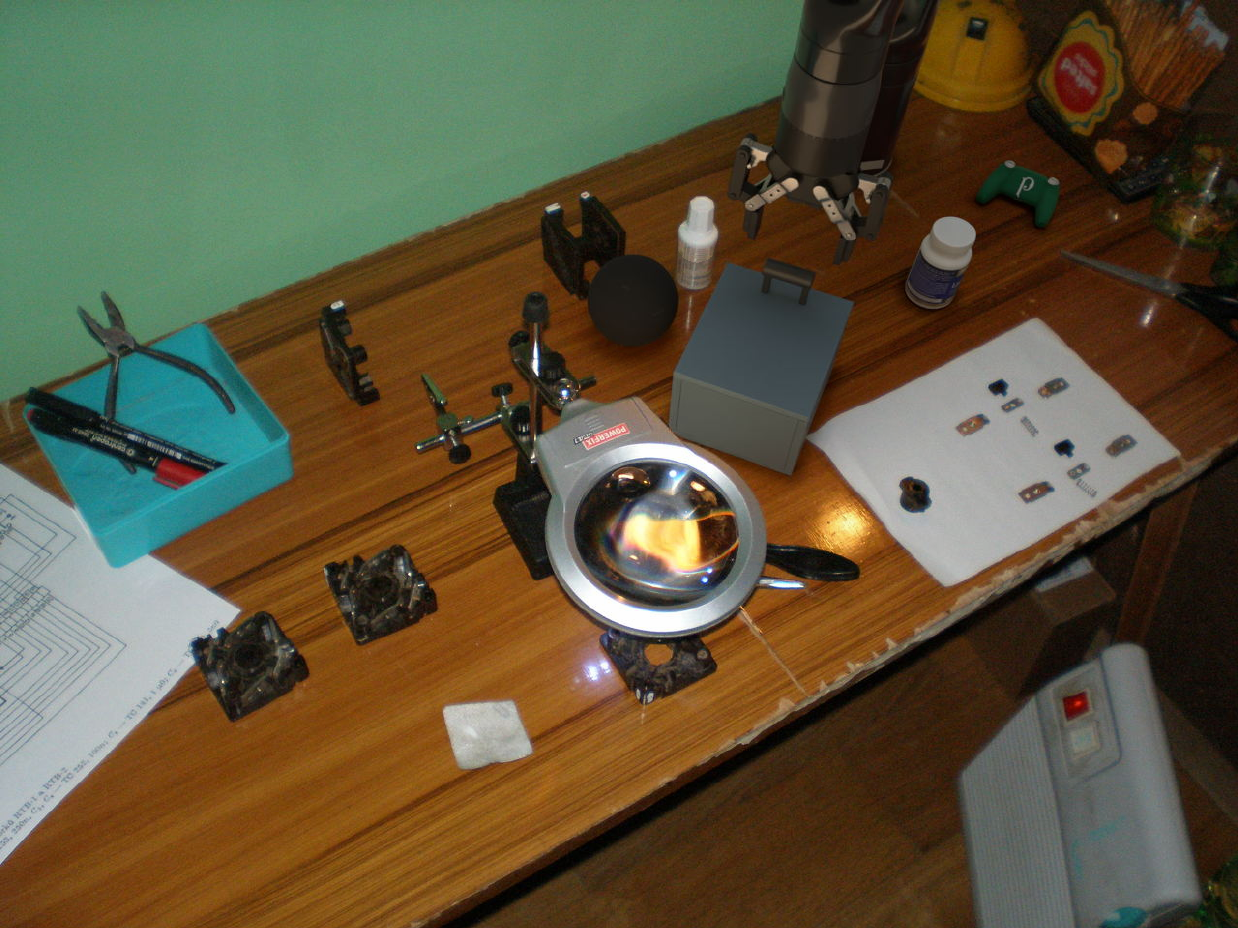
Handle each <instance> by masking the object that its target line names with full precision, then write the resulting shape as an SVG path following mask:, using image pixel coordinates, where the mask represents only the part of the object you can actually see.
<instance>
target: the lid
mask: <svg viewBox="0 0 1238 928" xmlns="http://www.w3.org/2000/svg"><path fill="white" fill-rule="evenodd" d="M816 274H817V272H816V271H813V270H810V269H807V268H804V267H800V266H798V265H794V264H791V263H788V262H784V261H782V260H779V259H775V258H771V257H767V258H766V260H765V262H764V265H763V269H762V272H760V271H758V270H754V269H751V268H747V267H746V266H741V265H738V264H735V263H732V262H730V261H729V262H727V263H726V264H725V266H724V269H723V271H722V273H721V275H720V277H719V279H718V281H717V283H716V285H715V287H714V289H713V291H712V293H711V295H710V297H709V299H708V301H707V302H706V305H705V307H704V309H703V311H702V313H701V315H700V317H699V320H698V322H697V323H696V325H695V327H694V330H693V332H692V334H691V335H690V337H689V340H688V342H687V343H686V346H685V348H684V349H683V352H682V354H681V356H680V358H679V360H678V361H677V364H676V366H675V368H674V370H673V374H672V378H673V377H676V378H679V379H682V380H685V381H688V382H691V383H694V384H697V385H699V386H702V387H705V388H708V389H711V390H714V391H717V392H720V393H723V394H726V395H729V396H732V397H734V398H737V399H740V400H743V401H746V402H749V403H752V404H755V405H758V406H761V407H764V408H767V409H769V410H772V411H775V412H778V413H781V414H784V415H787V416H790V417H793V418H796V419H799V420H801V421H804V422H807V423H808V421H809V419H810V416H811V414H812V411H813V409H814V406H815V403H816V401H817V398H818V396H819V393H820V391H821V388H822V385H823V383H824V380H825V378H826V375H827V372H828V370H829V367H830V365H831V362H832V360H833V357H834V354H835V352H836V349H837V347H838V344H839V341H840V339H841V336H842V334H843V331H844V329H845V330H846V328H845V326H846V327H847V325H846V323H847V324H848V322H849V319H850V316H851V313H852V310H853V308H854V306H855V305H854V304H855V301H852V300H849V299H846V298H843V297H841V296H837V295H834V294H831V293H827V292H823V291H820V290H817V289H814V288H812V287H813V284H814V281H815V279H816V276H817V275H816ZM848 318H849V319H848ZM847 321H848V322H847Z"/></svg>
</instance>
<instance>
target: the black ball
mask: <svg viewBox="0 0 1238 928" xmlns="http://www.w3.org/2000/svg"><path fill="white" fill-rule="evenodd" d="M676 284H677V283H676V282H675V279H674V277H673V276H672V274H671V273H670V271H669V270H668V269H667V268H666V266H664V265H663V264H662V263H660V262H659V261H657V260H656V259H654V258H652V257H650V256H647V255H643V254H635V253H634V254H633V253H632V254H631V253H630V254H623V255H620V256H617V257H614V258H613V259H611V260H609V261H607V262H606V263H605V264H603V265H602V266H600V268H599V269H598V270H597V271H596V273H595V274H594V276H593V278H592V280H591V282H590V284H589V287H588V291H587V300H586V301H587V311H588V314H589V317H590V320H591V321H592V323H593V325H594V326H595V329H596V330H597V331H598V332H599V333H600V334H601V335H602V336H603V337H604V338H605V339H607V340H608V341H610V342H612V343H614V344H615V345H619V346H623V347H628V348H629V347H631V348H636V347H642V346H647V345H650V344H652V343H654V342H656V341H658V340H659V339H660V338H661V337H663V336H664V335H665V334H666V333H667V332H668V331H669V330H670V328H671V327H672V325H673V323H674V321H675V320H676V318H677V317H676V316H677V314H678V310H679V304H680V303H679V299H680V298H679V291H678V287H677V285H676Z"/></svg>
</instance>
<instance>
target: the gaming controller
mask: <svg viewBox="0 0 1238 928" xmlns="http://www.w3.org/2000/svg"><path fill="white" fill-rule="evenodd" d="M1060 187H1061V185H1060V181H1059V179H1057V178H1056V177H1054V176H1051V177H1047V176H1046V175H1044V174H1041V173H1040V172H1037V171H1035V170H1032V169H1030V168H1026V167H1024V166H1021V165H1016V163H1015V162H1014V161H1013V160H1005V161H1004V162H1002V163H1001V164H999V165H998V166H997V167H996V168H995V169H994V170H993V171H992V172H991V173H990V174H989V175H988V176H987V178H986V179H985V181H984V182H983V183H982V184H981V186H980V187H979V190H978V191H977V194H976V196H975V201H976V202H978V203H980V204H982V205H985V204H987V203H988V202H990V201H991V200H993V199H994V198H995V197H996V196H998V195H1000V194H1001V195H1003V196H1005V197H1007V198H1011V199H1013V200H1015V201H1018V202H1021V203H1023V204H1026V205H1027V206H1030V207H1033V208H1034V226H1035V227H1038V228H1040V229H1045V228H1046V226H1047V225H1048V224H1049V222H1050V220H1051V219H1052V217H1053V214H1054V212H1055V210H1056V208H1057V205H1058V201H1059V198H1060V197H1059V196H1060Z"/></svg>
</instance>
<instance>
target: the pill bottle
mask: <svg viewBox="0 0 1238 928" xmlns="http://www.w3.org/2000/svg"><path fill="white" fill-rule="evenodd" d="M976 236H977V235H976V230H975V228H974V226H973V225H971V223H969V222H968V221H967V220H965V219H963V218H961V217H957V216H944V217H941V218H939V219H937V220H935V222H934V224H933V226H932V228H931V229H930V233H929V234H926V236H925V237H924V238H923V240H922V242H921V244H920V246H919V249H918V251H917V254H916V256H915V258H914V262H913V263H912V266H911V269H910V271H909V274H908V277H907V279H906V281H905V287H904V288H905V292H906V295H907V297H908V299H909V300H911V302H912V303H914V304H915V305H917V306H918V307H921V308H924V309H927V310H928V309H929V310H939V309H943V308H946V306H948V305H949V304H951V302H952V301H953V300H954V298H955V295H956V293H957V291H958V289H959V287H960V284H961V282H962V280H963V278H964V276H965V273H966V271H967V269H968V267H969V265H970V263H971V261H972V257H973V249H972V247H973V246H974V243H975V240H976Z"/></svg>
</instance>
